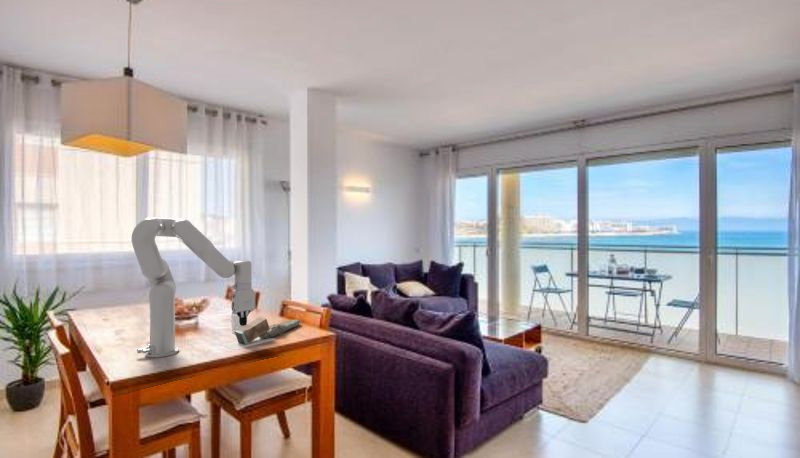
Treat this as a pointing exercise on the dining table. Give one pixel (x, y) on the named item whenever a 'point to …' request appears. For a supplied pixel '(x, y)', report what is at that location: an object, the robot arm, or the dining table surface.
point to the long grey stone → (280, 328)
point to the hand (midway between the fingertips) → (243, 325)
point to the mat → (256, 341)
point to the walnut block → (252, 330)
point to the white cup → (235, 323)
